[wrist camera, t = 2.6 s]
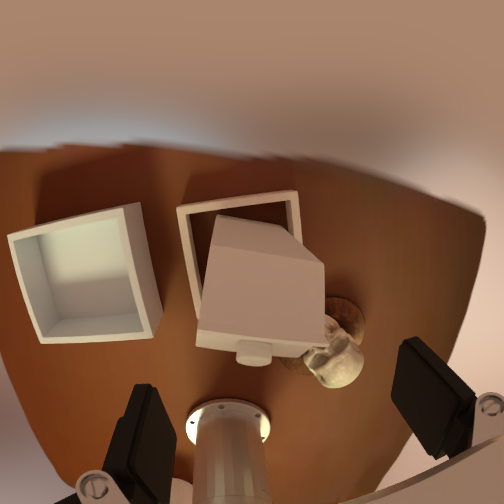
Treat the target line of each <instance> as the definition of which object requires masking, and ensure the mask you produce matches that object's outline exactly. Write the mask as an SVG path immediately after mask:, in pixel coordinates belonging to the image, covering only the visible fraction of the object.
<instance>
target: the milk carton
mask: <svg viewBox="0 0 504 504" xmlns="http://www.w3.org/2000/svg"><path fill="white" fill-rule="evenodd" d="M324 330H325V274H324V264H323V263H322V262H321V261H320V260H319V259H318V258H316V257H315V256H314V255H313V254H312V253H311V252H310V251H309V250H308V249H306V248H305V247H304V246H303V245H302V244H301V243H300V242H299V241H298V240H296V239H295V238H294V237H293V236H292V235H291V234H290V233H289V232H287V231H286V230H285V229H284V228H283V227H282V226H280V225H276V224H271V223H266V222H260V221H255V220H249V219H244V218H238V217H232V216H226V215H220V214H217V215H216V220H215V225H214V229H213V234H212V239H211V244H210V250H209V256H208V262H207V268H206V274H205V281H204V287H203V294H202V300H201V307H200V314H199V321H198V327H197V338H196V346H198V347H203V348H210V349H217V350H224V351H232V352H237V354H236V361H237V362H238V363H240V364H243V365H247V366H265V365H268V364H270V363H271V361H272V356H279V357H292V358H298V357H300V356H301V355H302V354H304V353H305V352H306V351H307V350H309V349H310V348H311V347H312V346H316V347H329V345H330V343H329V342H328V340H327V339H326V337H325V335H324Z"/></svg>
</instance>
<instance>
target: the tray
mask: <svg viewBox="0 0 504 504" xmlns="http://www.w3.org/2000/svg"><path fill="white" fill-rule="evenodd" d="M278 201H285V205H286V214H287V224H288V232H289V233H290V234H291V235H292V236H293V237H294V238H295V239H296V240H298V241H299V242H300V243H301V244H302V245H303V242H302V231H301V220H300V210H299V200H298V191H295V190H284V191H276V192H268V193H259V194H252V195H244V196H237V197H229V198H222V199H215V200H209V201H202V202H196V203H189V204H183V205H180V206H178V207H177V208H176V210H177V216H178V222H179V228H180V234H181V240H182V246H183V251H184V257H185V262H186V267H187V272H188V278H189V283H190V288H191V292H192V297H193V302H194V307H195V311H196V316H197V319H199V314H200V307H201V300H202V294H203V290H202V284H201V279H200V274H199V268H198V263H197V257H196V251H195V246H194V240H193V234H192V228H191V221H190V215H189V214H192V213H198V212H205V211H212V210H218V209H225V208H232V207H240V206H247V205H254V204H262V203H270V202H278Z"/></svg>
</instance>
